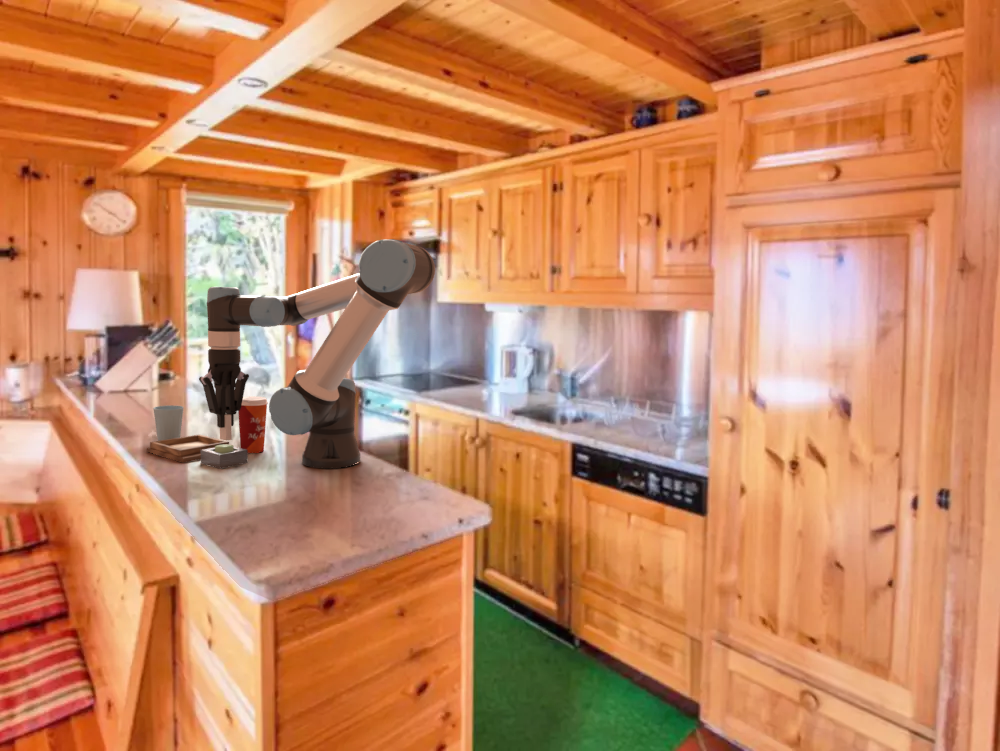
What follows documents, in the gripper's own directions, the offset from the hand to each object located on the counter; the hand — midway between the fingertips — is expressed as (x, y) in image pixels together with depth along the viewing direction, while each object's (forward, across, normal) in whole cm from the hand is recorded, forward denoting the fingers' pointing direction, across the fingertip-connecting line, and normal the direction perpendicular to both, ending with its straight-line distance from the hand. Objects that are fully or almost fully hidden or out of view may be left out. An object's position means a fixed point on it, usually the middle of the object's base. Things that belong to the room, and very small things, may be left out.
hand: (225, 439), depth 164 cm
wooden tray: (+6, -1, -17) cm, 18 cm away
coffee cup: (+7, -13, -7) cm, 16 cm away
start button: (+6, 0, -1) cm, 6 cm away
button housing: (+6, 0, -1) cm, 6 cm away
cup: (+6, -3, -31) cm, 32 cm away
